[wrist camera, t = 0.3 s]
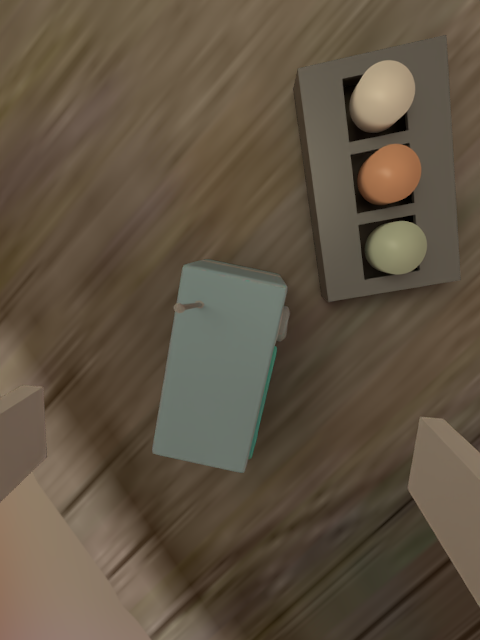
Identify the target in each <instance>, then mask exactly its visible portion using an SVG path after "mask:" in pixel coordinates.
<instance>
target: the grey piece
mask: <svg viewBox="0 0 480 640" xmlns="http://www.w3.org/2000/svg"><path fill="white" fill-rule="evenodd" d="M385 60H393V61H397V62H400V63H402V64H403V65H405V66H406V67H407V68H408V69H409V71H410V72H411V74H412V76H413V78H414V82H415V95H414V99H413V102H412V104H411V106H410V108H409V109H408V111H407V112H406V113H405V122H406V131H402V132H397V133H392V134H388V135H383V136H378V137H373V138H368V139H363V140H358V141H353V142H349V137H348V128H347V119H346V110H345V101H344V92H343V87H348V86H352V85H357V84H358V83H359V81H360V79H361V78H362V76H363V74H364V73H365V72H366V71H367V70H368V69H369V68H370V67H371V66H372V65H374V64H376V63H378V62H381V61H385ZM293 90H294V98H295V105H296V112H297V120H298V127H299V134H300V142H301V149H302V156H303V164H304V171H305V179H306V186H307V193H308V201H309V208H310V215H311V223H312V230H313V237H314V245H315V252H316V260H317V267H318V274H319V282H320V289H321V296H322V297H323V298H324V299H326V300H327V301H328V302H331V301H337V300H343V299H349V298H355V297H361V296H367V295H374V294H380V293H386V292H392V291H398V290H404V289H410V288H416V287H422V286H428V285H434V284H440V283H446V282H452V281H458V280H461V277H460V260H459V243H458V225H457V208H456V191H455V174H454V157H453V140H452V123H451V106H450V89H449V72H448V55H447V37H446V35H443V36H439V37H434V38H430V39H426V40H421V41H417V42H412V43H408V44H404V45H399V46H395V47H390V48H386V49H381V50H377V51H373V52H368V53H364V54H359V55H355V56H350V57H346V58H342V59H337V60H333V61H328V62H324V63H320V64H315V65H311V66H306V67H302V68H298V69H297V74H296V79H295V83H294V88H293ZM390 144H402V145H406V144H407V146H408V147H409V148H411V149H412V150H413V151H414V152H415V153H416V154H417V156H418V158H419V160H420V163H421V177H420V180H419V183H418V185H417V187H416V188H415V190H414V191H413V192H412V193H411V195H412V203H411V204H406V205H401V206H395V207H390V208H384V209H379V210H374V211H368V212H363V213H358V214H357V209H356V200H355V191H354V182H353V173H352V164H351V156H352V155H357V154H362V153H367V152H372V151H377V150H379V149H380V148H382V147H384V146H387V145H390ZM410 215H413V220H414V224H415V225H417V226H418V227H419V228H420V229H421V230H422V231H423V233H424V234H425V237H426V240H427V251H426V254H425V257H424V259H423V261H422V262H421V263H420V264H419V266H417V269H418V270H415V271H410V272H408V273H405V274H392V275H386V276H380V277H374V278H368V279H364V272H363V263H362V254H361V245H360V236H359V227H358V225H361V224H367V223H372V222H377V221H383V220H388V219H394V218H399V217H405V216H410Z"/></svg>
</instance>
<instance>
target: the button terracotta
mask: <svg viewBox="0 0 480 640" xmlns="http://www.w3.org/2000/svg"><path fill="white" fill-rule="evenodd" d="M420 177H421V163H420V160H419V158H418V156H417V154H416V153H415V152H414V151H413V150H412V149H411V148H409V147H407V146H405V145H402V144H390V145H387V146H384V147H382V148H380V149H379V150H378V151H376V152H375V153H374V154H373V155H371V156H370V157H369V158H368V159H367V160H366V161H365V162H364V163H363V164H362V166H361V168H360V170H359V172H358V177H357V185H358V189H359V192H360V194H361V195H362V197H363V198H364V199H365V200H366V201H368V202H369V203H372V204H375V205H386V204H390V203H393V202H396V201H399V200H402V199H404V198H406V197H407V196H409V195H410V194H411V193H412V192H413V191H414V190H415V188H416V187H417V185H418V183H419V180H420Z"/></svg>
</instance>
